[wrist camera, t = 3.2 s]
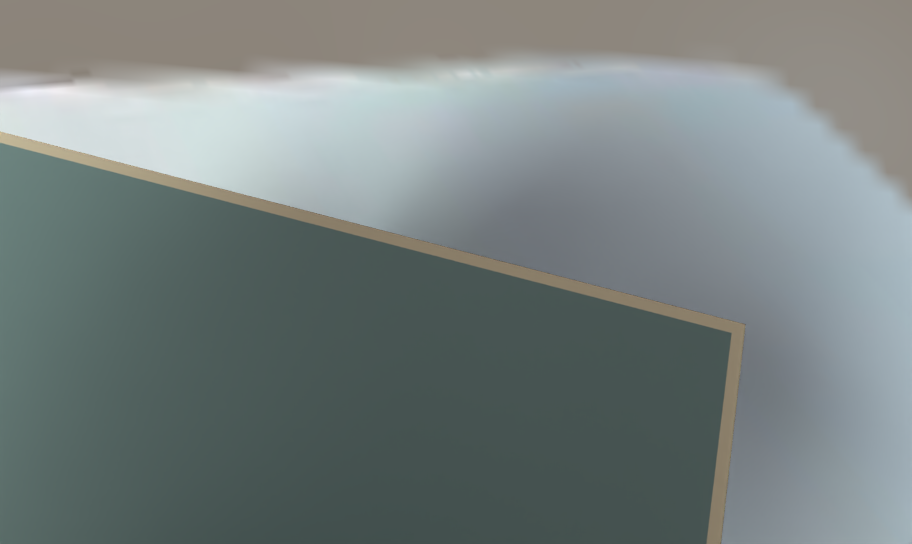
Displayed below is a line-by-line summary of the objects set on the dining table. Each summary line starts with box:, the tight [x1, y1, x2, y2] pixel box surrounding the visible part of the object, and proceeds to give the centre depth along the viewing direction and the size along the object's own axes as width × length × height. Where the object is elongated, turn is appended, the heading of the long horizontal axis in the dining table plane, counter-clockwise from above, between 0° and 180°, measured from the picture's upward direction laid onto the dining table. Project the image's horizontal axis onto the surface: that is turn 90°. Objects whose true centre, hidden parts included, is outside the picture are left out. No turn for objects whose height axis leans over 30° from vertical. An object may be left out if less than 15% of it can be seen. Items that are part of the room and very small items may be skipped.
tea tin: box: [0, 132, 745, 544], centre depth 9 cm, size 7×7×12 cm
